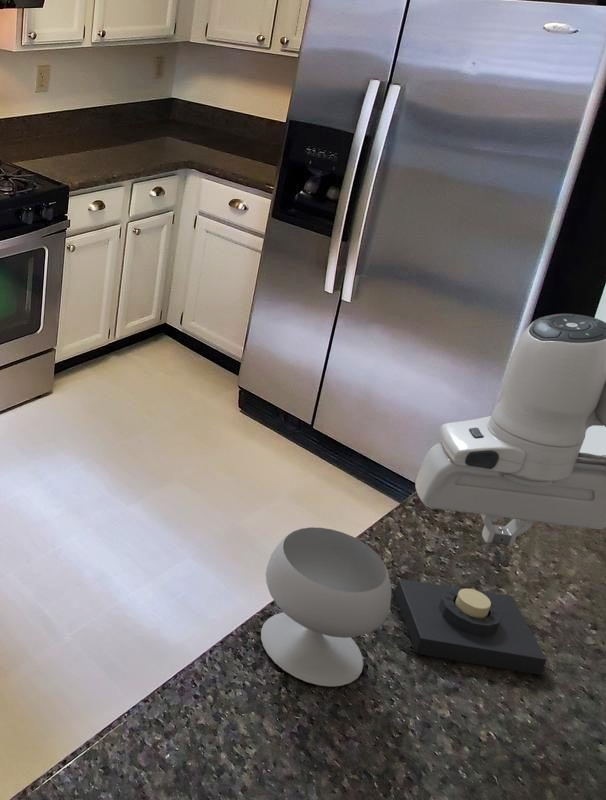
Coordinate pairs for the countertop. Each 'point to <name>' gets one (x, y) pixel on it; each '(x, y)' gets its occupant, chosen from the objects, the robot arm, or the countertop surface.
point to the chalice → (324, 604)
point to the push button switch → (473, 603)
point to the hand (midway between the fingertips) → (496, 541)
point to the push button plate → (468, 628)
